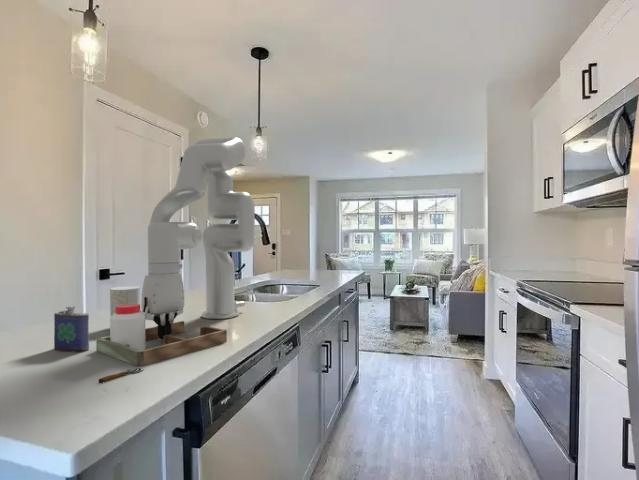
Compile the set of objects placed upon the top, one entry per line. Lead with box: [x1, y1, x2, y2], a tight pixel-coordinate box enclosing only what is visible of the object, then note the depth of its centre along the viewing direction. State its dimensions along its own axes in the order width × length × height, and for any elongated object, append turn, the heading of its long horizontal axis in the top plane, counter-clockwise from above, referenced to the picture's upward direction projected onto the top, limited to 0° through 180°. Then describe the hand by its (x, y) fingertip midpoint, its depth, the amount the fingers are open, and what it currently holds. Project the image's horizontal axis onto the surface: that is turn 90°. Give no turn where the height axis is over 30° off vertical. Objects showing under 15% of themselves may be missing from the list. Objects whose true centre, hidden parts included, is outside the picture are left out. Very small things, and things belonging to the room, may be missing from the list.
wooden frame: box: [95, 320, 228, 367], centre depth 100 cm, size 24×19×3 cm
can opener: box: [98, 366, 145, 384], centre depth 79 cm, size 9×2×1 cm, turn 142°
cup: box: [109, 285, 141, 318], centre depth 120 cm, size 8×8×12 cm
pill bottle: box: [109, 303, 147, 351], centre depth 96 cm, size 8×8×11 cm
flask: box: [53, 306, 90, 353], centre depth 97 cm, size 9×3×11 cm, turn 78°
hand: (164, 338), depth 104 cm, fingers closed
